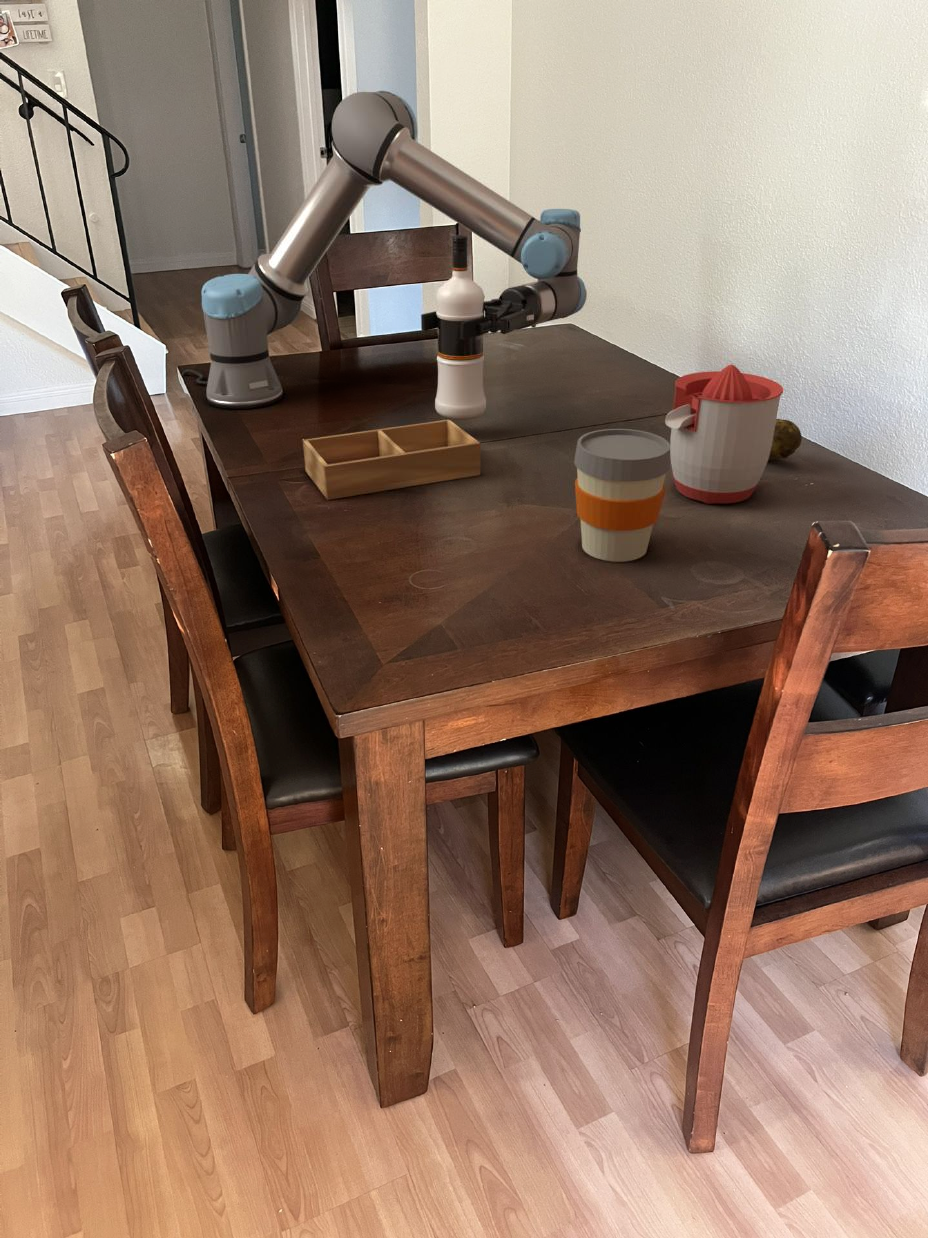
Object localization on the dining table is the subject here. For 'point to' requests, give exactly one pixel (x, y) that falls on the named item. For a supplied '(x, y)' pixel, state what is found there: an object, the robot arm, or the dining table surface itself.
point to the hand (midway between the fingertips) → (442, 326)
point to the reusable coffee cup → (619, 490)
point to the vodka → (459, 341)
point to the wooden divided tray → (390, 458)
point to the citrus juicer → (721, 433)
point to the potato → (785, 439)
